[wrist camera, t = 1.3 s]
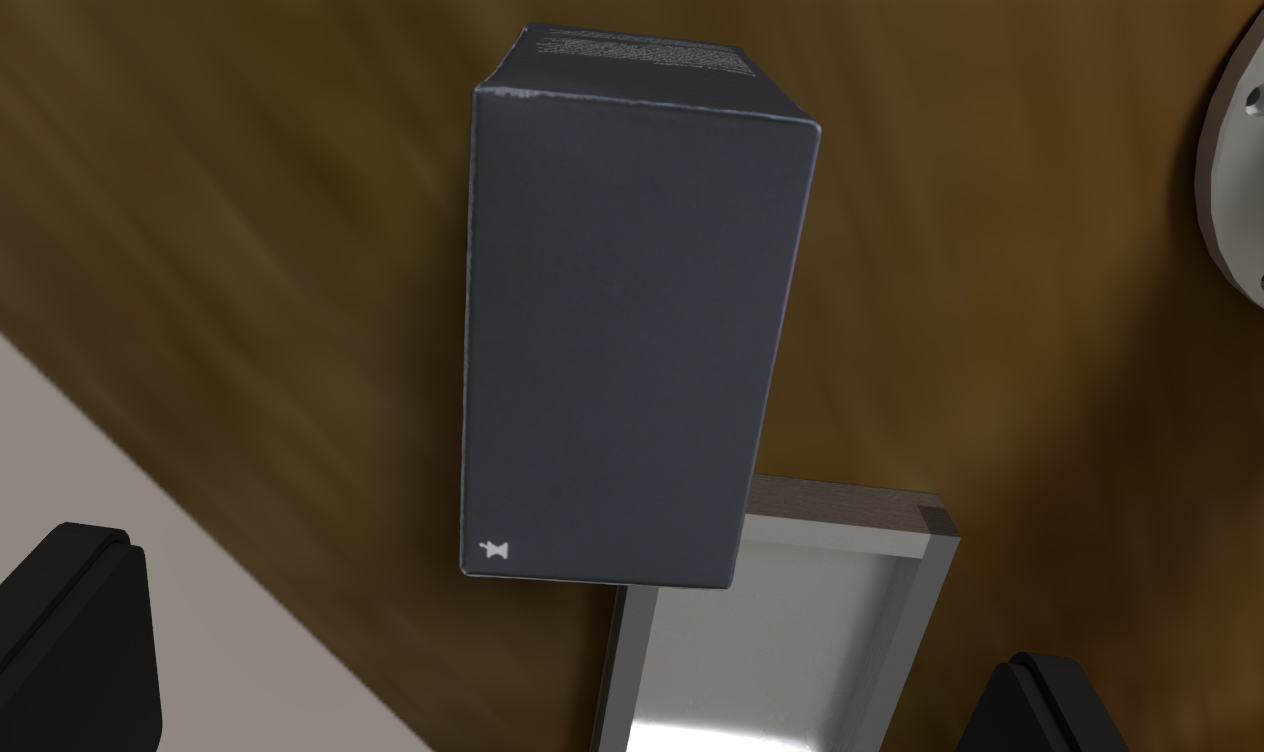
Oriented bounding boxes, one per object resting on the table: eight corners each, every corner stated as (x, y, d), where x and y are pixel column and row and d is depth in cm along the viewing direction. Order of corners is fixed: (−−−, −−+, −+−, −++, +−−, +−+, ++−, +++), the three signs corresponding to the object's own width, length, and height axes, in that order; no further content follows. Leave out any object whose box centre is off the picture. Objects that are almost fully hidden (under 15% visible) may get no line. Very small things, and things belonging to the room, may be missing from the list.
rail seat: (937, 494, 31) (969, 553, 28) (836, 777, 38) (853, 847, 35) (638, 460, 30) (640, 517, 27) (588, 755, 37) (585, 825, 34)
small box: (703, 385, 29) (742, 608, 20) (503, 368, 29) (445, 586, 19) (758, 43, 24) (843, 124, 15) (517, 17, 24) (451, 82, 15)
